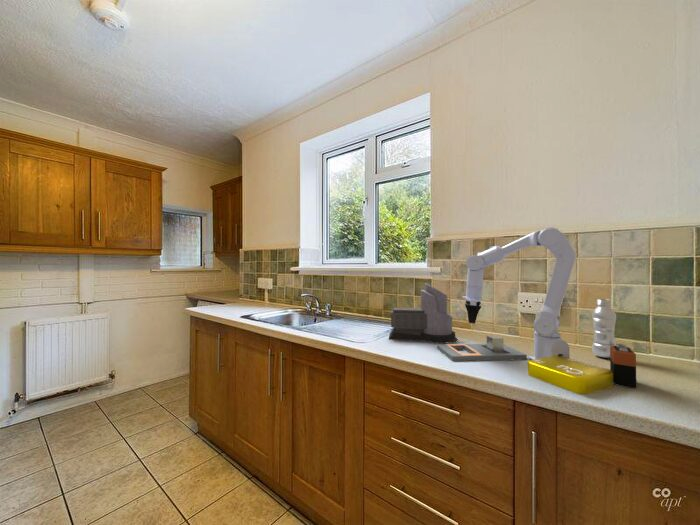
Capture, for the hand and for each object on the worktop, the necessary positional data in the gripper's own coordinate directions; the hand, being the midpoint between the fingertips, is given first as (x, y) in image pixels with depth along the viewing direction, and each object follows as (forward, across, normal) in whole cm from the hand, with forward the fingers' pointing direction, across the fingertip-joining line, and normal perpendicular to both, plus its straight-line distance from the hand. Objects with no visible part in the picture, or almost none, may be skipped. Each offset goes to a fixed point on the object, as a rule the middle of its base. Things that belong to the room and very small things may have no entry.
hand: (471, 320), depth 109 cm
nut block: (+10, +4, +8) cm, 14 cm away
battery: (+7, +20, +38) cm, 44 cm away
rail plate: (+10, +7, +3) cm, 13 cm away
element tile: (+9, +23, +26) cm, 35 cm away
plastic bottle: (+8, -5, +43) cm, 44 cm away
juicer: (+12, -8, -19) cm, 24 cm away
